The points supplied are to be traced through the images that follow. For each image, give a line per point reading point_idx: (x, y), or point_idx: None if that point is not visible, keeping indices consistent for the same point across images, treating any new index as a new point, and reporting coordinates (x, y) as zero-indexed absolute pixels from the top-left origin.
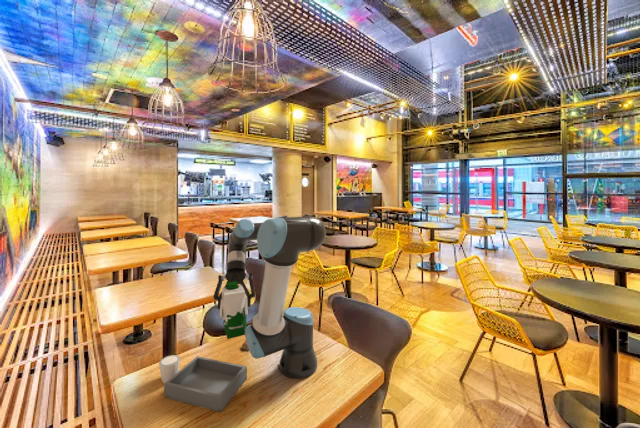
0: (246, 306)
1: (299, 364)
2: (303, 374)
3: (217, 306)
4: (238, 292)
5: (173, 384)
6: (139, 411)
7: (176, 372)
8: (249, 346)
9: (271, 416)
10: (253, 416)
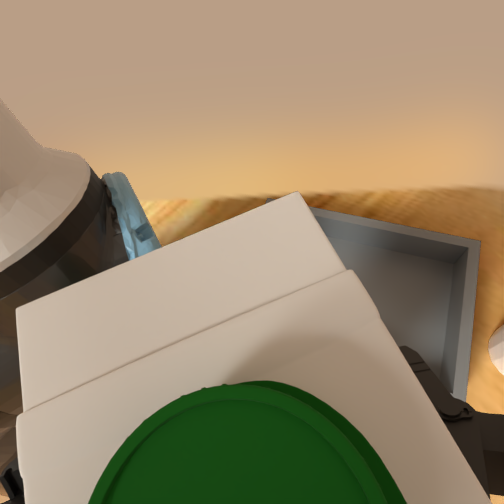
0: None
1: None
2: None
3: (417, 352)
4: (110, 277)
5: (443, 238)
6: (496, 215)
7: (498, 337)
8: None
9: (149, 214)
10: (189, 213)
